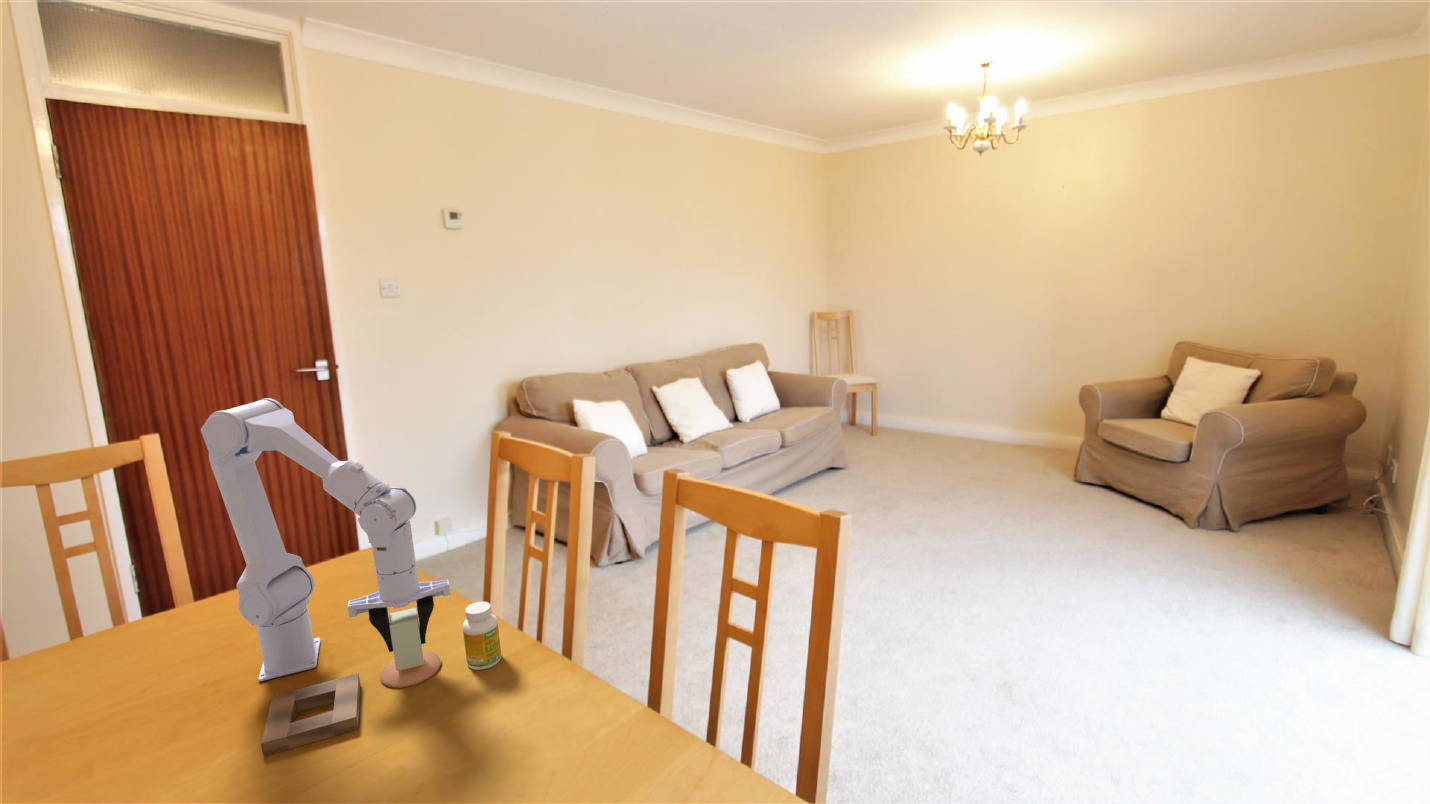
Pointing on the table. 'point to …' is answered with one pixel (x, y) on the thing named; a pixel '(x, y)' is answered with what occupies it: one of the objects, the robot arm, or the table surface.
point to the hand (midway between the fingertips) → (407, 644)
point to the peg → (406, 639)
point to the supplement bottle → (481, 636)
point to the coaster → (410, 672)
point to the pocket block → (292, 733)
